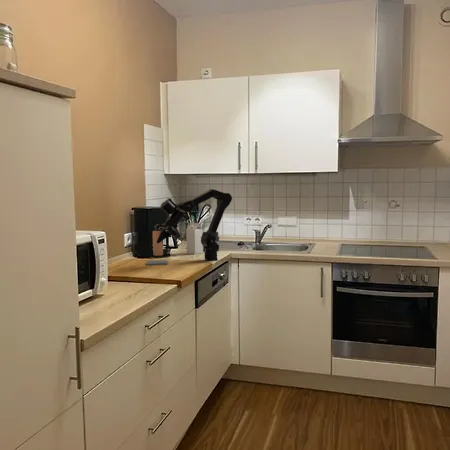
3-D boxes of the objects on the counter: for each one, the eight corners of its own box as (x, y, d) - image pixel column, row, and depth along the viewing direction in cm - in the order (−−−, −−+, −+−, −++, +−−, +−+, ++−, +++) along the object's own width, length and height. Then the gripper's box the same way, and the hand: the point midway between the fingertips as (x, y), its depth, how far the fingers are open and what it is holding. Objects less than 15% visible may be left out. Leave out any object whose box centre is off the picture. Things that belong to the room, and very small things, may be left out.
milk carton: (194, 252, 294) (193, 222, 293) (203, 253, 290) (202, 222, 288) (186, 253, 289) (185, 223, 287) (195, 254, 284) (194, 223, 283)
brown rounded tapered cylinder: (164, 254, 248) (163, 230, 247) (161, 255, 243) (160, 231, 242) (155, 254, 249) (154, 230, 248) (152, 255, 244) (151, 231, 243)
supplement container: (209, 249, 308) (209, 231, 307) (222, 250, 302) (222, 231, 301) (199, 251, 299) (199, 232, 298) (213, 252, 293) (212, 233, 292)
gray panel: (167, 261, 260) (167, 259, 260) (167, 264, 249) (167, 263, 249) (147, 262, 259) (147, 260, 259) (146, 265, 248) (146, 263, 248)
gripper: (191, 231, 245) (173, 254, 240) (176, 228, 261) (159, 250, 256) (177, 217, 240) (158, 240, 235) (163, 215, 256) (144, 237, 251)
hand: (155, 242), depth 245 cm, fingers closed on brown rounded tapered cylinder, 5 cm apart
